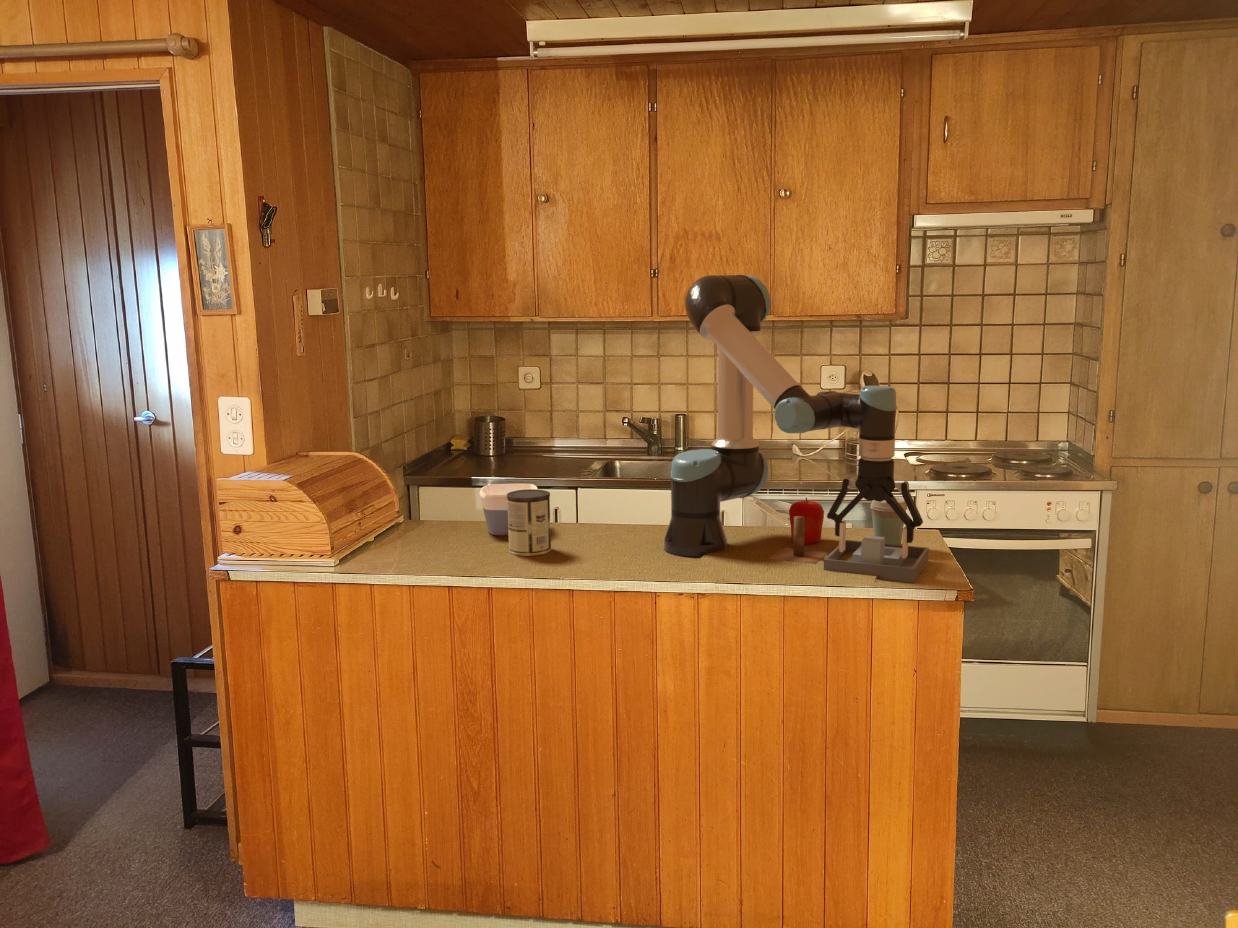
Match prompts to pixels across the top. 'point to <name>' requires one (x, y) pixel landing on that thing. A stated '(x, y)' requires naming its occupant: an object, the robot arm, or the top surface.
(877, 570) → the tray
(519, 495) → the coffee can
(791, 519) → the apple
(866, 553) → the ring
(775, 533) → the top surface
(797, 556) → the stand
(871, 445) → the robot arm
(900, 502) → the coffee cup
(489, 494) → the plastic food container
